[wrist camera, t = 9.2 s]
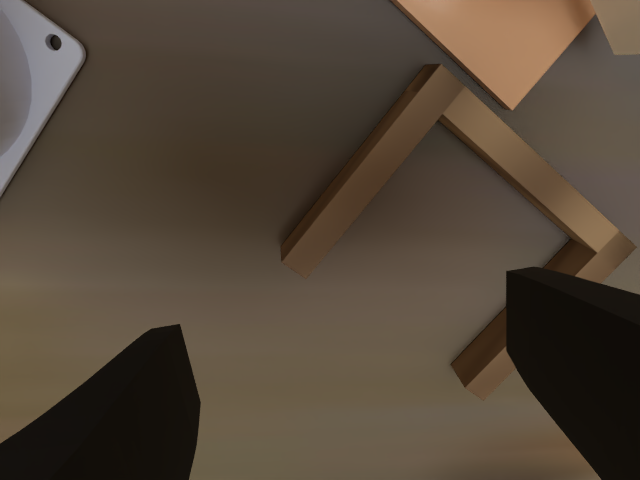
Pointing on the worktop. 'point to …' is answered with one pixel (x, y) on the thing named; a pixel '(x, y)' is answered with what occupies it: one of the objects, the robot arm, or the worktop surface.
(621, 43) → the jug
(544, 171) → the holder
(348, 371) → the worktop surface
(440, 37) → the plate
